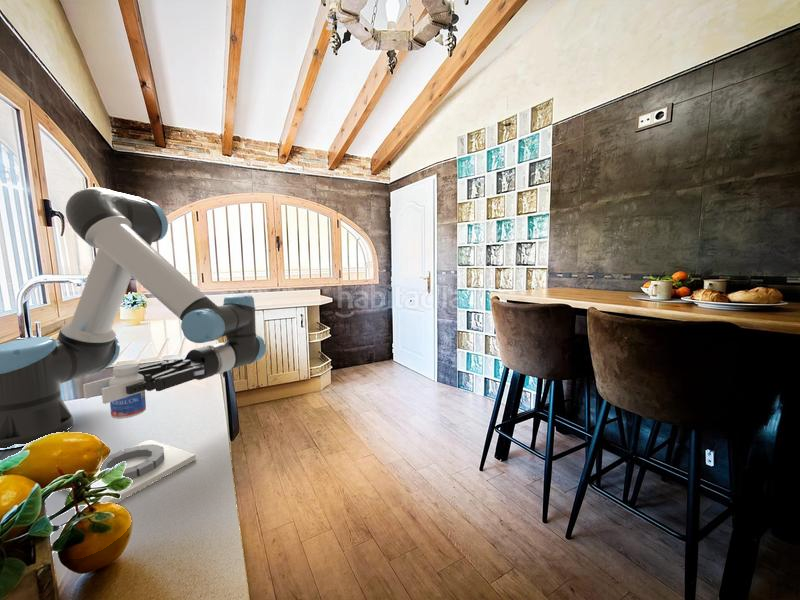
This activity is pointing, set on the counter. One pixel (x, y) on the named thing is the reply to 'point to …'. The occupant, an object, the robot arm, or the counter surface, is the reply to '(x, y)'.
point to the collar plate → (156, 474)
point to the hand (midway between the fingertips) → (94, 393)
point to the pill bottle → (131, 403)
